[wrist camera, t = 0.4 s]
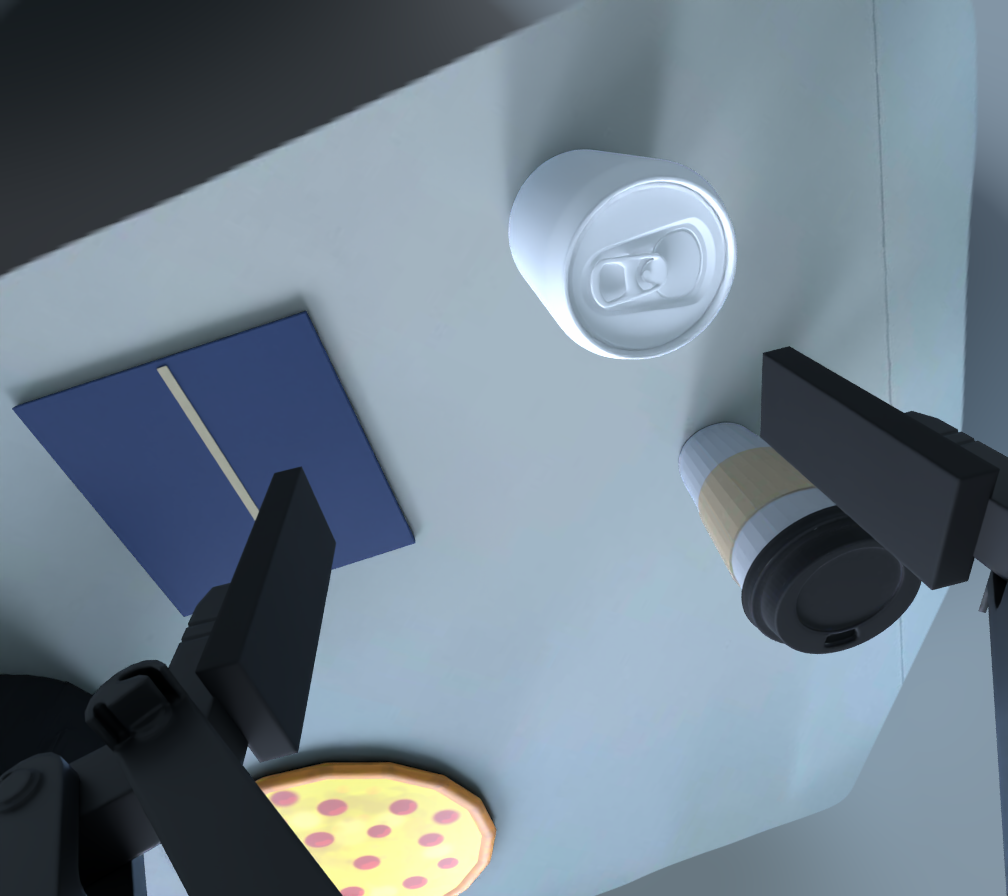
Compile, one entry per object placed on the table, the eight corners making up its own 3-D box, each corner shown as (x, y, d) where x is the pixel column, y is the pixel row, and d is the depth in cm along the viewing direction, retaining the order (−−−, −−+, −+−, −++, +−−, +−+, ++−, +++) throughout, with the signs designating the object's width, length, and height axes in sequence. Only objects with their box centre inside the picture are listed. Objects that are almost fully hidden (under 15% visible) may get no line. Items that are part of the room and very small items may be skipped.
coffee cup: (690, 528, 46) (801, 688, 33) (630, 452, 41) (730, 601, 28) (796, 459, 44) (958, 599, 31) (744, 371, 39) (907, 491, 26)
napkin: (15, 405, 34) (10, 409, 33) (306, 310, 33) (305, 312, 33) (185, 613, 43) (183, 617, 42) (415, 539, 42) (415, 543, 42)
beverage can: (648, 281, 35) (747, 345, 25) (520, 311, 35) (566, 389, 25) (638, 133, 31) (752, 138, 21) (493, 167, 31) (535, 188, 21)
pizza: (106, 856, 55) (100, 869, 54) (379, 712, 51) (378, 723, 50) (322, 953, 71) (321, 964, 70) (547, 849, 66) (549, 860, 65)
